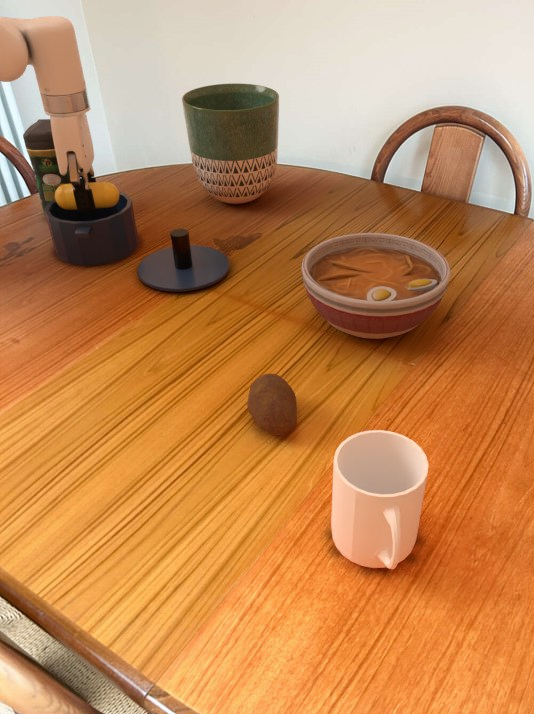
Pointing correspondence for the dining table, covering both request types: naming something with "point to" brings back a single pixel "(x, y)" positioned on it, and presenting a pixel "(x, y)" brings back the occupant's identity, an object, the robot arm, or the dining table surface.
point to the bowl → (375, 283)
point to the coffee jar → (44, 160)
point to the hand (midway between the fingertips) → (88, 203)
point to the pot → (93, 233)
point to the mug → (377, 497)
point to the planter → (233, 139)
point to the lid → (183, 265)
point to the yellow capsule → (101, 191)
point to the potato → (273, 404)
